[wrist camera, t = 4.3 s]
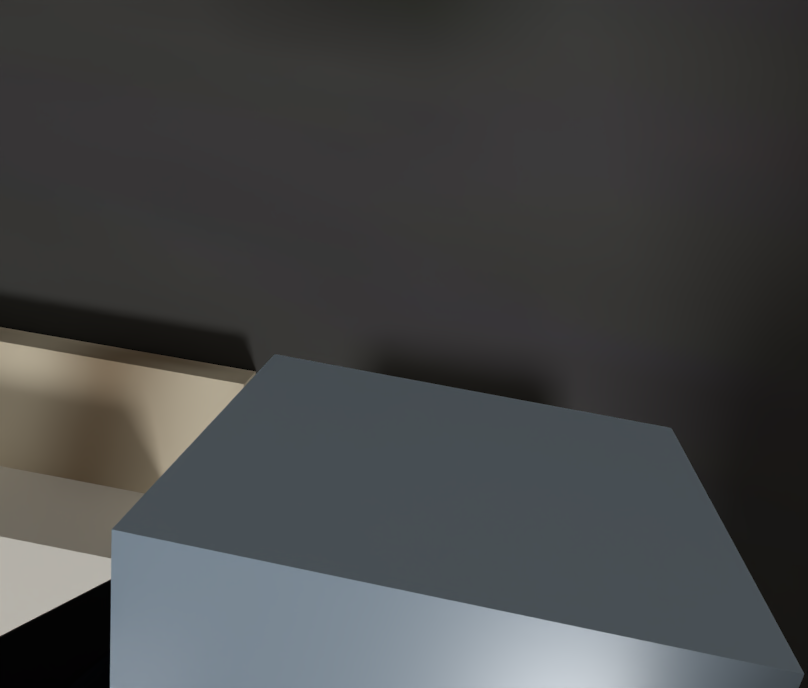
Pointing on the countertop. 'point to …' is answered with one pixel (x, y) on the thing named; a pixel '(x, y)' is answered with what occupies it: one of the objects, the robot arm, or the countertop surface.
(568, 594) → the middle brick
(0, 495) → the lower brick
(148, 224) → the countertop surface
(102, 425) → the base plate
